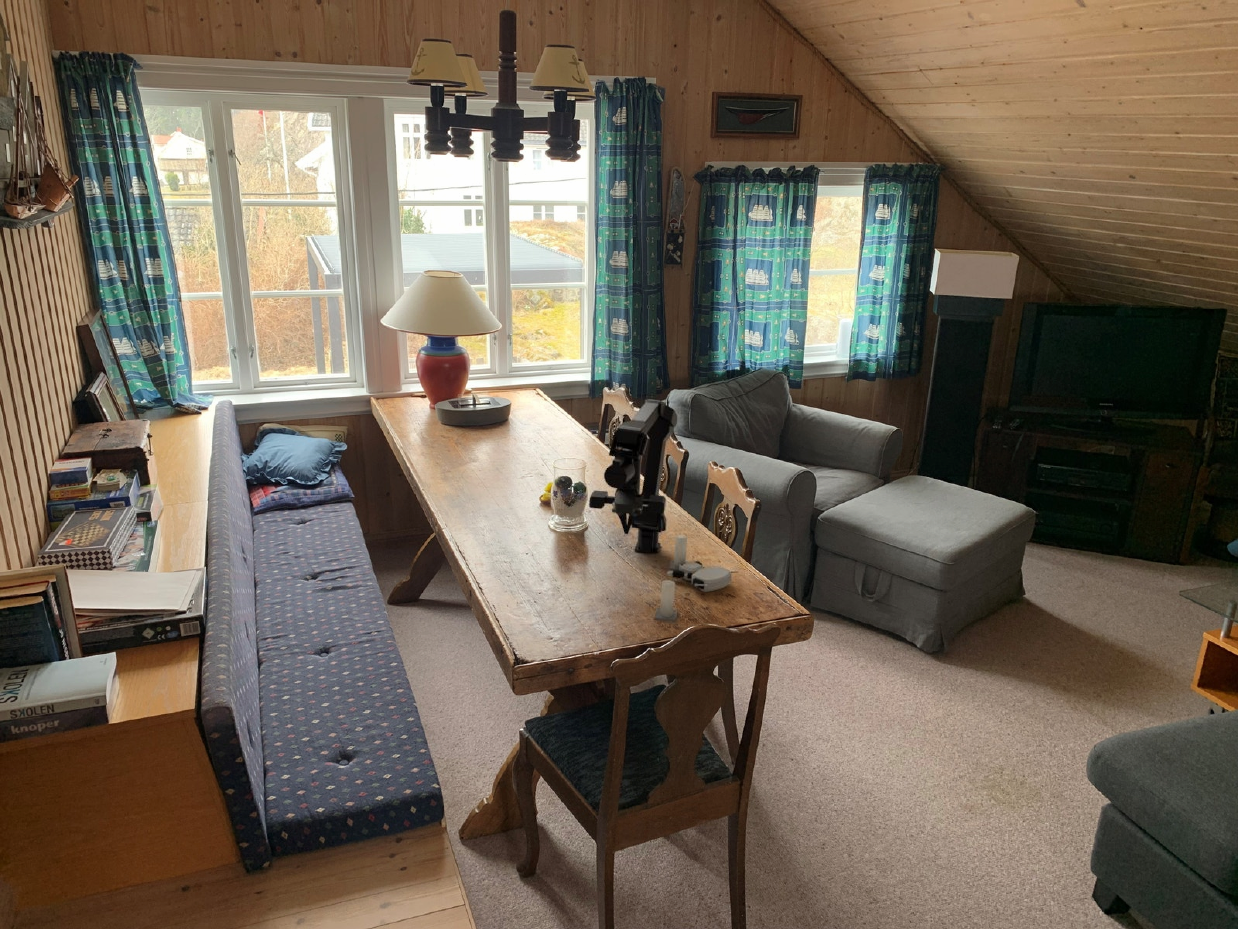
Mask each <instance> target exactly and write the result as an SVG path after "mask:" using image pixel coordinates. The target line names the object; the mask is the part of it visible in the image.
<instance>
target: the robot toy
mask: <svg viewBox="0 0 1238 929" xmlns="http://www.w3.org/2000/svg"><path fill="white" fill-rule="evenodd" d="M687 562H688V563H684V564H681V565H679V570H674V571H673V570H668V571H667V572H666V575H667V576H672V578H675V579H683V580H684V579H685V581H691V585H692V586H693V587H694V588H696V589H699V590H700V591H702V592H704V593H708V592H709V593H710V592H713V591H717V590H720V589H723V588H725V587H727V586H728V585H730V584H731V582H732V580H733V579H732V573H733V574H738V573H739V571H737V570H736V571H732V570H730V569H728V568H725V567H721V566H719V565H717V566H716V565H715V566H714V565H712V566H707V567H705V566H703V563H702V562H700V560H697V561H687Z"/></svg>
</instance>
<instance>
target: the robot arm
mask: <svg viewBox="0 0 1238 929" xmlns="http://www.w3.org/2000/svg"><path fill="white" fill-rule="evenodd" d="M677 423H678V414H677V412H676V410H675V409H674V408H672V407H671V406H669V405H667V404H666V403H665V401H663V400H659V399H651V398H647V399H645V400H644V401H643V405H642V406H641V408H640V409H639V410H638V411H637V413H636V414H635V415H634V417H633V418H632V419H631V420H628V421H625V422H624V421H623V422H622V423H621V424H619V425H618V427H617V428H616V429H615V431H614V432H613V437H612V439H611V440H612V441H611V445H610V449H609V452H608V456H609V457H614V459H613V460H612V463H611V464H610V465H609V466H607V467H606V469H605V470H604V473H603V479H604V481H605V483H606V484H607V485H608V486H609V487H611V488H613V489H616V490H615V493H614V496H612V495H611V496H610V495H609V492H608V491H607V490H593V491H592V493H591V494H590V497H589V501H588V502H589V503H588V504H589V505H588V508H590V509H599V510H602V509H603V508H604V507H605V506H606V504H607V505H612V509H611V512H612V513H614V514H616V515H617V516H618V518H619V521H620V523H621V527H622V530H623V533H624V534H625V535H628V534H629V532H630V530H631V528H632V529H637V541H636V545H635V547H634V552H640V553H649V554H659V550H660V549H661V543H660V542H659V536H660V535H659V534H660V533H662V532H666V530H667V517H666V515H665V509H666V503H667V498H666V497H665V496H664V495H660V488H661V481H662V480H661V479H662V472H663V465H664V460H665V454H666V453H665V452H666V444H667V441H668V440H669V439H670V438H671V436H672V435H673V434H674V431H675V427H676V426H677ZM647 445H648V446H647ZM646 450H647V454H646V460H645V466H644V467H645V468H644V475H643V480H642V481H643V482H642V488H641V470H642V457H643V456H644V455H645V453H646ZM640 491H641V493H640ZM627 516H628V518H627Z"/></svg>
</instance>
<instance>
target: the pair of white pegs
mask: <svg viewBox="0 0 1238 929" xmlns="http://www.w3.org/2000/svg"><path fill="white" fill-rule="evenodd" d="M687 547H688V537H687V536H686V535H684V534H678V535H676V536H675V542H674V557H673V558H674V559H673V560H672V559H671V561H670V564H669V567H668V571H674V570H679V565H681V564H684V563H688V562H689V561H686V560H687ZM675 587H676V583H675V581H673V580H669V579H664V580H662V581H661V591H660V592H661V594H660V607H657V608H656V611H655V614H654V618H653V619H654V621H661V622H669V623H676V622H677V618H678V615H679V610H678V609H674V602H675V590H676V588H675Z"/></svg>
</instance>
